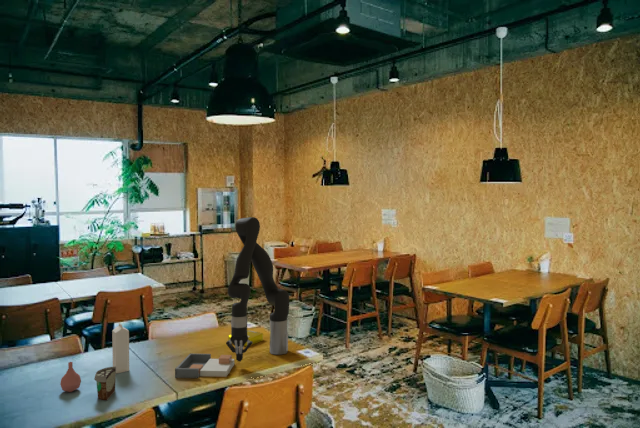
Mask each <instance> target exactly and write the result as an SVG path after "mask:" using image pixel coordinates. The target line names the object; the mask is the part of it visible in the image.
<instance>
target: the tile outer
mask: <svg viewBox="0 0 640 428" xmlns="http://www.w3.org/2000/svg"><path fill="white" fill-rule="evenodd" d="M190 368H195V369H199V374H200V370H201V369H202V368H203V365H201V364H192V365H191V367H190Z"/></svg>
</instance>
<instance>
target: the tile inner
mask: <svg viewBox="0 0 640 428" xmlns="http://www.w3.org/2000/svg"><path fill="white" fill-rule="evenodd" d="M232 355H233V354H220V356H219V357H218V359H219V364H229V363H230V362H231V360H232V359H233V357H232Z"/></svg>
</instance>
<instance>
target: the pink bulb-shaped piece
mask: <svg viewBox="0 0 640 428" xmlns="http://www.w3.org/2000/svg"><path fill="white" fill-rule="evenodd" d="M67 365H68V369H67V371H66V373H65V374H64V375H63V376H62V377H61V378H60V382H59V383H60V384H59V385H60V387H61V390H62V391H63V392H68V393H72V392H75V390H77V389H79V388H80V386H81V383H82V378H81V375H80V374H79V373H77V371H75V370H74V368H73V361H69V362H68V364H67Z"/></svg>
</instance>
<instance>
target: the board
mask: <svg viewBox="0 0 640 428" xmlns="http://www.w3.org/2000/svg"><path fill="white" fill-rule="evenodd" d="M234 366H235V358H232V360H231V362H230V363H229V364H219V358H211V359H209V360H208V362H207V363H206V364H205V365H204V367H203V368H202V369H201V370H200V376H199V377H223V378H224V377H225V378H227V377H228V375H229V374H230V372H231V370H232V368H233V367H234Z"/></svg>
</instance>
